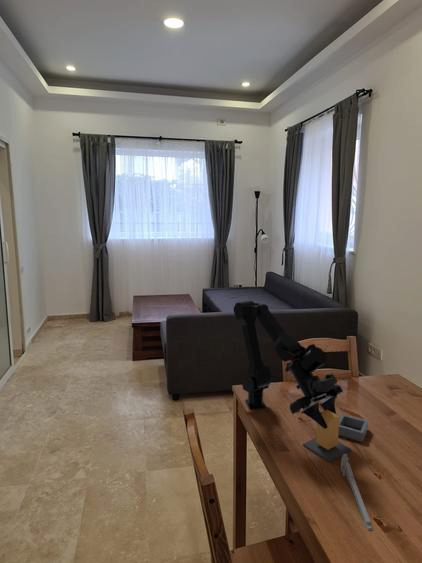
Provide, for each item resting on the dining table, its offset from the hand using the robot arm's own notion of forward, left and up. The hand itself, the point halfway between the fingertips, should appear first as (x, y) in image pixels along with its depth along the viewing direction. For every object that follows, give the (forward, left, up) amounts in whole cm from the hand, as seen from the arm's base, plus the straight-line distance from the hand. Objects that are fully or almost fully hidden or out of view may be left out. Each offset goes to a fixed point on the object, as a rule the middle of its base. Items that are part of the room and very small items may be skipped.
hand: (331, 425), depth 113 cm
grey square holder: (-8, +11, -8) cm, 16 cm away
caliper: (+19, -3, -8) cm, 21 cm away
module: (-1, -1, -7) cm, 7 cm away
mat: (-1, -1, -8) cm, 8 cm away
